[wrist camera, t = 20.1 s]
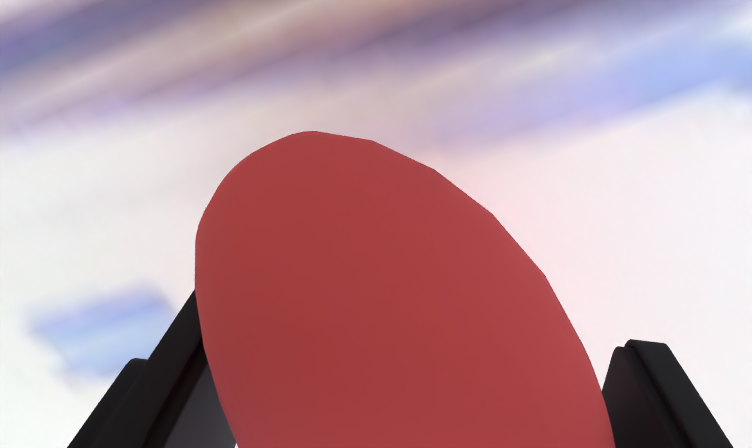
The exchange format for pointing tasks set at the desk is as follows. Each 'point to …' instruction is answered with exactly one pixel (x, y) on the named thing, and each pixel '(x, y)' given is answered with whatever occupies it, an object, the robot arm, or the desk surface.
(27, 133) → the desk surface
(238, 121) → the desk surface
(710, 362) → the desk surface
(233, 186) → the red kidney bean
